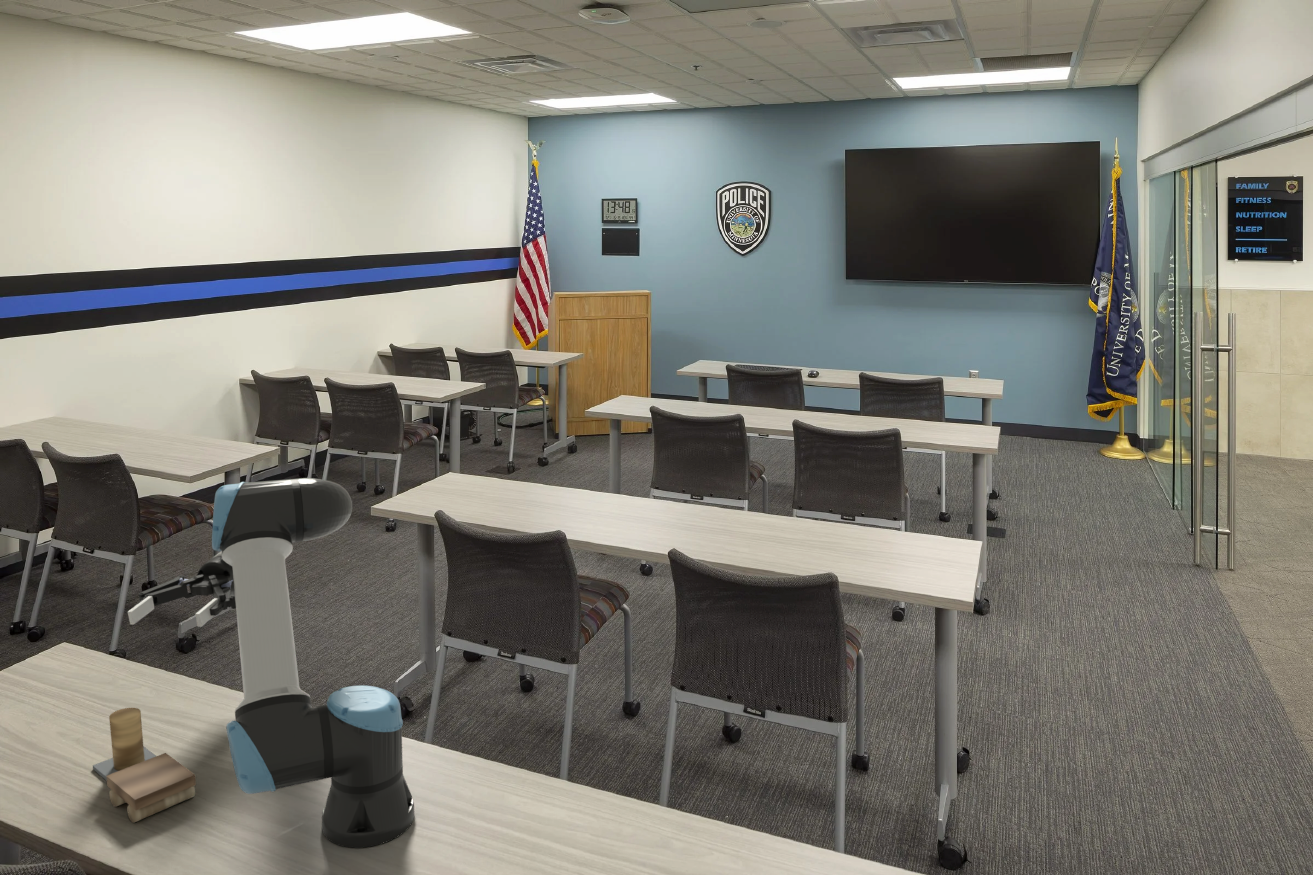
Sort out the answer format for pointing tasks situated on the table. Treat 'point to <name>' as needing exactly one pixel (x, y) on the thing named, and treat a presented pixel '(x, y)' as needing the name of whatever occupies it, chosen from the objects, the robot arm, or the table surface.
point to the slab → (151, 786)
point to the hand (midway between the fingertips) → (164, 619)
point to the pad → (108, 765)
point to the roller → (126, 738)
